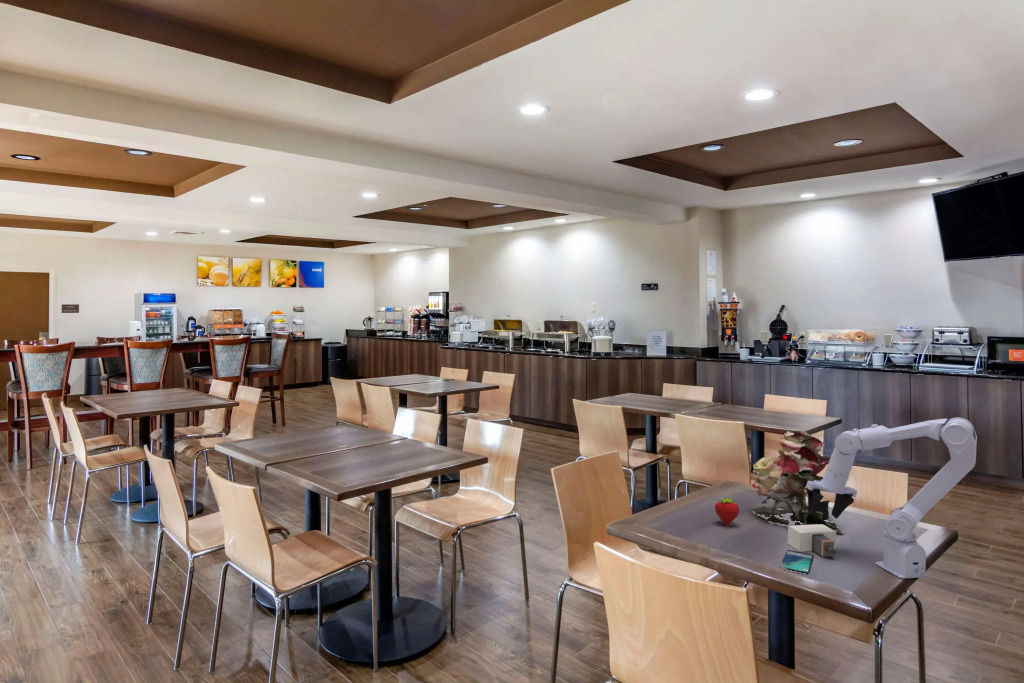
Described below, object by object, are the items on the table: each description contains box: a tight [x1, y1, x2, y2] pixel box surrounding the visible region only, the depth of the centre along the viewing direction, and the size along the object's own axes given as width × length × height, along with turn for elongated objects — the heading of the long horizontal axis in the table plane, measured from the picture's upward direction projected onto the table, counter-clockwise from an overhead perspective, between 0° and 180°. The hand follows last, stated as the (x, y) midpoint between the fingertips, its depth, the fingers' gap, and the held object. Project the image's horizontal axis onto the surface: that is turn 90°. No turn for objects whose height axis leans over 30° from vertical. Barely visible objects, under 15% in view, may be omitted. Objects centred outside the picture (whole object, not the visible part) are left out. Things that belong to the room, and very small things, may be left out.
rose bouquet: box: [750, 429, 844, 536], centre depth 200 cm, size 26×29×30 cm
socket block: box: [787, 523, 837, 552], centre depth 177 cm, size 6×11×6 cm, turn 97°
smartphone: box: [781, 549, 815, 574], centre depth 167 cm, size 7×1×15 cm
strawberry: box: [714, 496, 740, 526], centre depth 195 cm, size 6×8×10 cm
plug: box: [812, 534, 836, 558], centre depth 172 cm, size 9×3×4 cm, turn 7°
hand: (822, 514), depth 174 cm, fingers open, 7 cm apart
